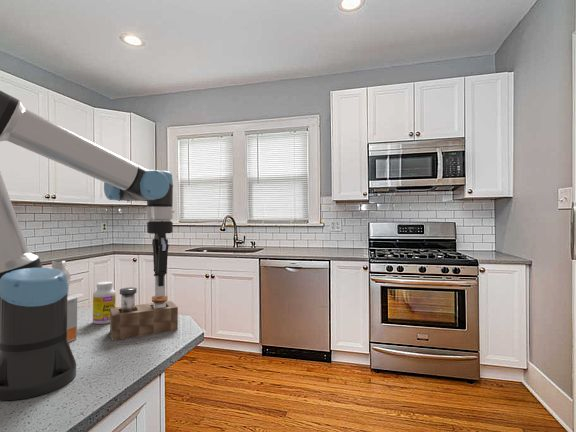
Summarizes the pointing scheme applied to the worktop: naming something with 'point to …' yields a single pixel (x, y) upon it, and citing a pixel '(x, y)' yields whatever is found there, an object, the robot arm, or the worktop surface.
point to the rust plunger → (159, 301)
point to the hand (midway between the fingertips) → (160, 295)
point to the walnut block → (143, 320)
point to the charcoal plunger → (128, 299)
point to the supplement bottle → (103, 302)
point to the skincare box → (71, 318)
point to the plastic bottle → (61, 266)
